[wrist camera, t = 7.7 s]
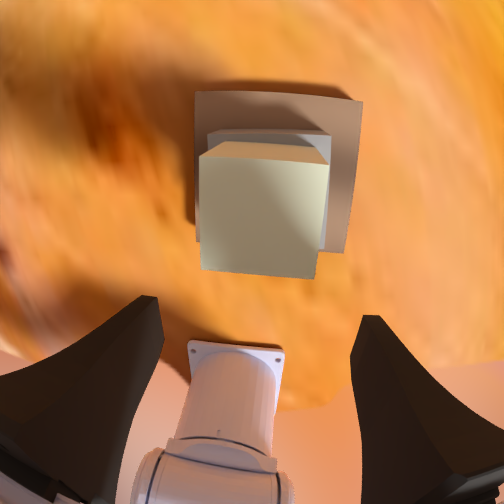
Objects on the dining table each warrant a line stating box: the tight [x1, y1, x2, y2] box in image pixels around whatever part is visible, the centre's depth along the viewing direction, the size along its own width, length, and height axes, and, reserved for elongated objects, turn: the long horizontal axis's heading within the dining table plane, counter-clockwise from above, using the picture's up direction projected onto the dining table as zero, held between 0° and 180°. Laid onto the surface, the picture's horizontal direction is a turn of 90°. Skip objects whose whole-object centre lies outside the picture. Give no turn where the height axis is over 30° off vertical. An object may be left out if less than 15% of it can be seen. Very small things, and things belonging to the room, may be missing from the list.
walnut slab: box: [194, 91, 363, 253], centre depth 18 cm, size 9×9×2 cm
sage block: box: [199, 141, 329, 279], centre depth 12 cm, size 4×4×4 cm
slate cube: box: [207, 129, 331, 249], centre depth 16 cm, size 6×6×3 cm
